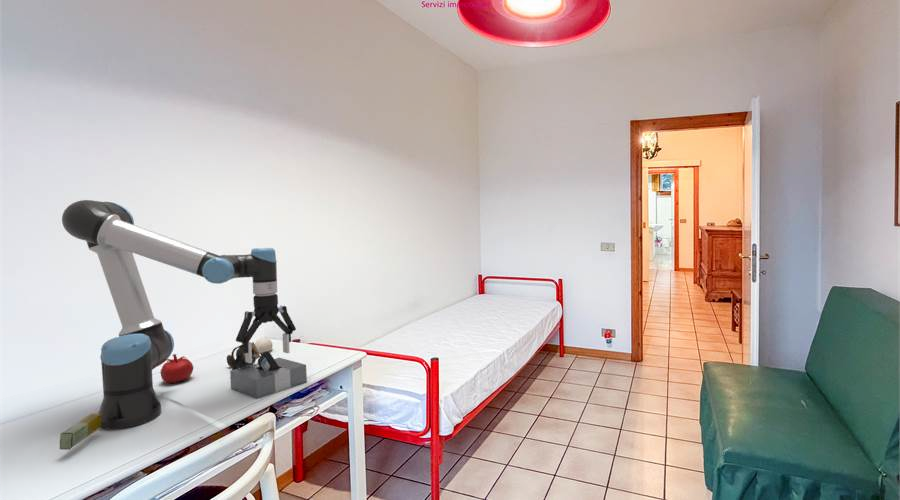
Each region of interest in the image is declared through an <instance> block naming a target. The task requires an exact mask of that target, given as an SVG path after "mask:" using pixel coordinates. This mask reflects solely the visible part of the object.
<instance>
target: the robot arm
mask: <svg viewBox="0 0 900 500" xmlns="http://www.w3.org/2000/svg"><path fill="white" fill-rule="evenodd" d="M61 222H62V223H61V224H62V226H63V228H64V230H65V231H66V232H67V233H68V234H69V235H70V236H72V237H74V238H75V239H78V240H82V241H85V243H86V245H87V247H88V250H90V251H91V252H93V253H95V254H97V258H98V260H99V262H100V266H101V268H102V271H103V275H104V278H105V281H106V282H107V283H106V284H107V286H108V289H109V293H110V296H111V298H112V300H113V301H112V302H113V303H114V307H115V310H116V312H117V315H118V318H119V322H120V324H121V330H119V333H118V336H117V337H116V336H115V337H113V338H110V339H108V340H107V341H105V342H104V343H103V344H102V345H101V348H100V355H99V358H100V361H101V362H100V363H101V375H102V390H103V397H102V401H101V404H100V407H99V411H98V413H97V414H102V419H101V428H100V429H104V430H117V429H118V430H119V429H124V428H131V427H133V426H137V425H141V424H144V423H146V422H150V421H152V420H154V419H155V418H157V417H158V416H160V415H161V414H162V404H161V401H160V399H159V397H158V396H157V394H156V391H155V389H154V386H153V385H154V382H153V370H154V369H156V368H157V367H159V366H161V365H162V364H165V363H166V360H167V359H169V358H170V356H171V355H172V353H173V351H174V349H175V348H174V346H175V342H174V337H173V336H172V334H171V333H170V332H169V331H168V330H166V329H165V328H164V325H163V323H162V321H161V320H160V319H157V318H156V317H155V316H154V313H153V310H152V307H151V305H150V301H149V298H148V295H147V292H146V289H145V286H144V284H143V281H142V277H141V275H140V271H139V268H138V266H137V263H136V260H135V257H134V254H135V255H139V256H142V257H145V258H148V259H150V260H152V261H157V262H158V263H161V264H165V265H167V266H170V267H174V268H176V269H179V270H182V271H185V272H188V273H190V274H192V275H196V276H199V277H202V278H204V279H205V280H206V281H207V282H208V283H211V284H224V283H227V282H228V281H230V280H233V279H238V278H239V279H240V278H241V279H242V278H252V294H253V295H254V296H253V300H252V301H253V308H254V309H253V311H247V310H246V311H245V312H244V318H243V321H242V323H241V325H240V327H239V328H240V329H239V331H238V333H237V336H236V338H235V342H237V343H241V345H242V349H243V353H245V361H246V362H247V363H252V348H251V343H252V342H250V341H251V339H252V338H253V336H254V334H256V332H257V330H258V329H259V328H260V326H261V325H262V324H266V323H269V322H273V323H275V324H276V325H277V326H278V327H279V328H280V329H281V330H282V332H284V333H282V334H281V335H282V351H283V352H282V353H285V354H290V353H291V352H290V343H291V342H292V337H291V335H292V334H293V333H294V332H295V331H296V329H297V327H296V326H295V324H294V322H293V320H292V318H291V317H290V315H289V313H288V308H287V306H286V305H278V304H279V298H278V297H279V296H278V294H277V293H278V277H277V276H278V274H277V267H278V266H277V257H276V250H275V249H274V248H273V247H258V248H257V247H256V248H255V247H254V248H252V249H251V253H249V254H222V255H219V254H216V253H213V252H209V251H207V250H205V249H202V248H199V247H197V246H194V245H192V244H191V245H190V244H189V243H185V242H182V241H180V240H176V239H174V238H172V237H169V236H166V235H163V234H162V233H161V234H160V233H157V232H155V231H153V230H150V229H147V228H144V227H141V226H138V225H135V222H134V217H133V215H132V214H131V212H130V211H129V209H127V208H126V207H125V206H123V205H120V204H119V203H118V204H117V203H115V202H112V201H111V202H110V201H98V200H91V199H81V200H78V201H74V202H73V203H71V204H70V205H68V206H67V207H66V208H65V209H64V211H63V213H62V215H61ZM279 313H280V315H281V317H282V319H283V320H282V319H281V318H280V317H279V315H278V314H279ZM253 318H254V319H253ZM252 320H253V321H252ZM283 321H284V322H283ZM251 322H252V323H251ZM167 361H168V360H167Z"/></svg>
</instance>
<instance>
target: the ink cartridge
mask: <svg viewBox="0 0 900 500" xmlns="http://www.w3.org/2000/svg"><path fill="white" fill-rule="evenodd" d="M274 359H275V358H274V357H273V355H272V353H271V351H270V352H269V351H266V352H263V353H260V357H259V358H257V363H258V364H259V366H260V368H261V369H262V370H263V371H266V372H269V371H272V370H275V369H279V366H278V364H277V363H276V361H275V360H274Z"/></svg>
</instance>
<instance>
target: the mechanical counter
mask: <svg viewBox="0 0 900 500" xmlns="http://www.w3.org/2000/svg"><path fill="white" fill-rule="evenodd" d="M250 343H251V348H252V355H253V356H254V357H255V358H256V360H258V359H259V358H260V356H261V354H260V353H259V352H258V350H257V348H256V346H255V342H250ZM235 351H236V353H235ZM234 353H235V355H234ZM242 354H245V353H243V349H242V344H240V345H238V346H236V347H234V348H233V350H232V351H231V354H228V355H226V363H227V365H228V366H229V367H230V368H232V369H233V365H234V362H235V360H236V358H237V356H239V355H242ZM235 357H236V358H235ZM256 360H255V362H256Z"/></svg>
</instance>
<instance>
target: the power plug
mask: <svg viewBox="0 0 900 500" xmlns="http://www.w3.org/2000/svg"><path fill="white" fill-rule="evenodd" d="M255 360H257V359H256V358H255V357H254V356H253V355H252V363H247V362H246V361H245V354H242V355H239V356H237V358H235V362H234V365H233V368H232V369H231V370H235V369H239V368H242V367H246V366H250V365H254V364H256V361H255Z"/></svg>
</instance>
